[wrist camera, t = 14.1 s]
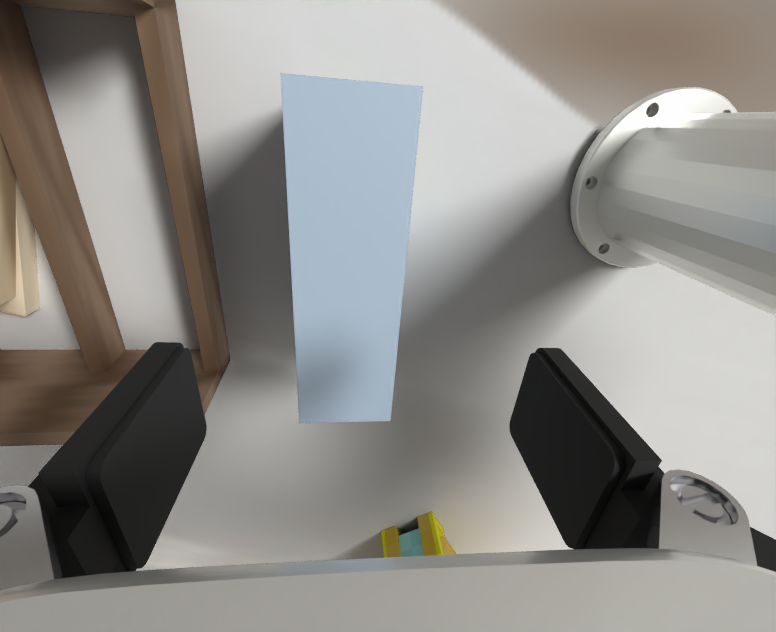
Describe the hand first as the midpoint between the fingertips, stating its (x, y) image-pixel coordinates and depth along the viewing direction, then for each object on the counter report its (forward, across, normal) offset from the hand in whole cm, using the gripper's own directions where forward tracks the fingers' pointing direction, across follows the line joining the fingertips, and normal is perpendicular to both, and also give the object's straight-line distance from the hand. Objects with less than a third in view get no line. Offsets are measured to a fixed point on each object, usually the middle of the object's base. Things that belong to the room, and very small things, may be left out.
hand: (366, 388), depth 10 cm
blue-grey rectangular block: (+19, +1, 0) cm, 19 cm away
